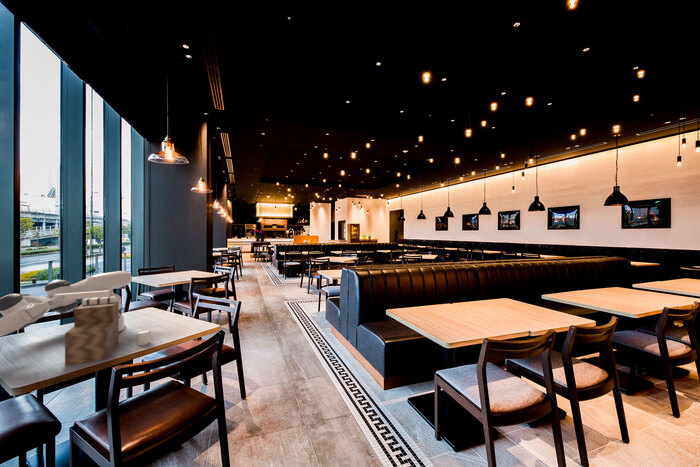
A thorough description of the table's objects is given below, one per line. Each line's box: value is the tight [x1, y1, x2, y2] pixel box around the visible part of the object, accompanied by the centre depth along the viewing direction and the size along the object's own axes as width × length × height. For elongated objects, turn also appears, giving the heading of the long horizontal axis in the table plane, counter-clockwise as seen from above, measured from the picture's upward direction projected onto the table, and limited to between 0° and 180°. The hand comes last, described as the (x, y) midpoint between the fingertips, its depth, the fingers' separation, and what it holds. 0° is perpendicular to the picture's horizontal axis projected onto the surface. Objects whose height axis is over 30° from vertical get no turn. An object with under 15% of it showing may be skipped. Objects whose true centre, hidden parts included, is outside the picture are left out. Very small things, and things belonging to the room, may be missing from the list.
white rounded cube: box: [135, 329, 151, 346], centre depth 167 cm, size 7×7×7 cm
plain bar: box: [54, 290, 109, 300], centre depth 154 cm, size 22×3×3 cm, turn 118°
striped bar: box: [81, 296, 116, 305], centre depth 161 cm, size 14×3×3 cm, turn 118°
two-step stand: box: [64, 301, 120, 367], centre depth 153 cm, size 16×24×25 cm, turn 28°
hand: (64, 295), depth 150 cm, fingers closed on plain bar, 3 cm apart
